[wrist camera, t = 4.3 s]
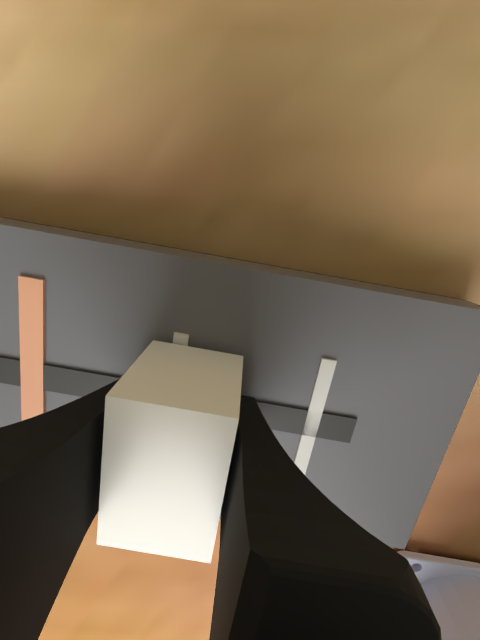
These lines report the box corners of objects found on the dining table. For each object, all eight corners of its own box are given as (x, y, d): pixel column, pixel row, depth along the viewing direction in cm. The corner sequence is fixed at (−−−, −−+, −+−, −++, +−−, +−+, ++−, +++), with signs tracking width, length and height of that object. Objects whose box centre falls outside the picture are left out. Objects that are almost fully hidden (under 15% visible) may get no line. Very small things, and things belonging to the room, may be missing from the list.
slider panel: (464, 299, 12) (506, 315, 10) (385, 508, 15) (405, 552, 13) (-68, 205, 12) (-133, 201, 10) (-46, 434, 15) (-94, 468, 13)
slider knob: (243, 355, 11) (239, 418, 7) (222, 465, 12) (210, 563, 8) (153, 340, 11) (105, 395, 7) (141, 451, 12) (96, 544, 8)
